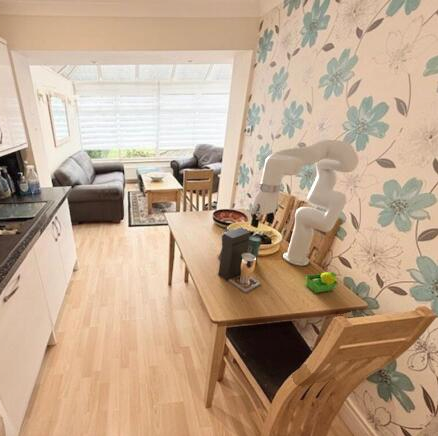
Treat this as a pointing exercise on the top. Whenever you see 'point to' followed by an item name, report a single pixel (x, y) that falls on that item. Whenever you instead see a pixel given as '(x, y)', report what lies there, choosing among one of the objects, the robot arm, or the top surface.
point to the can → (254, 246)
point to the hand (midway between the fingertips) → (261, 224)
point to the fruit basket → (321, 282)
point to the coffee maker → (234, 255)
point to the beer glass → (246, 268)
